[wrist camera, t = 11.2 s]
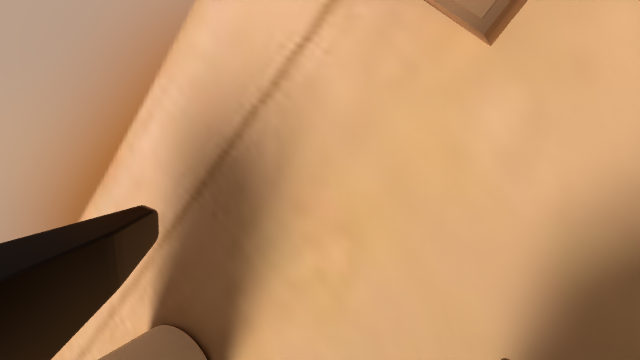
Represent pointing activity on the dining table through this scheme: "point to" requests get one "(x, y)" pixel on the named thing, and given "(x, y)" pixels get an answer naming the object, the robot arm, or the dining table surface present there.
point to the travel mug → (159, 346)
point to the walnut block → (480, 15)
